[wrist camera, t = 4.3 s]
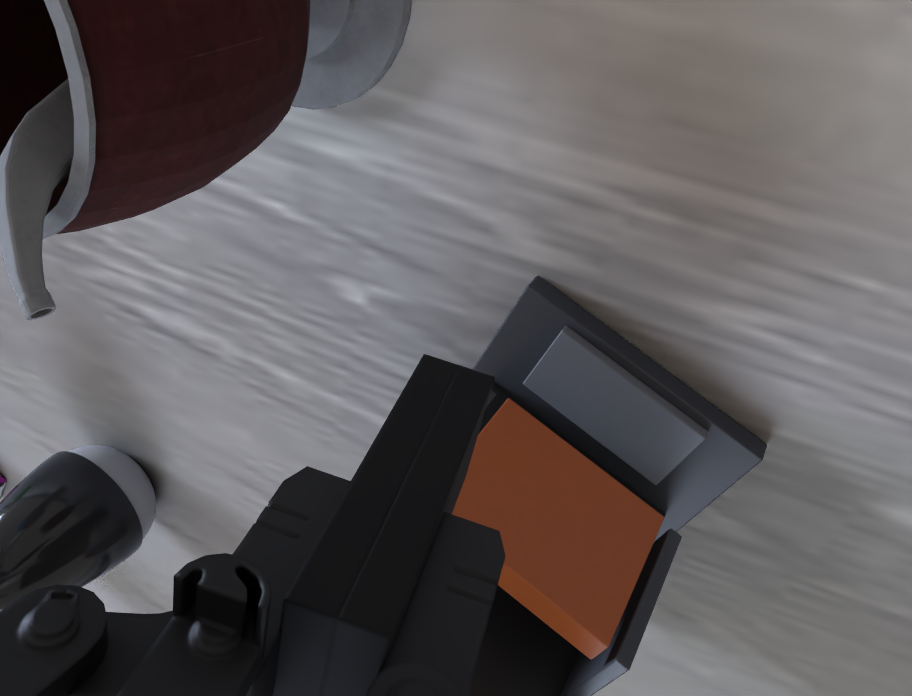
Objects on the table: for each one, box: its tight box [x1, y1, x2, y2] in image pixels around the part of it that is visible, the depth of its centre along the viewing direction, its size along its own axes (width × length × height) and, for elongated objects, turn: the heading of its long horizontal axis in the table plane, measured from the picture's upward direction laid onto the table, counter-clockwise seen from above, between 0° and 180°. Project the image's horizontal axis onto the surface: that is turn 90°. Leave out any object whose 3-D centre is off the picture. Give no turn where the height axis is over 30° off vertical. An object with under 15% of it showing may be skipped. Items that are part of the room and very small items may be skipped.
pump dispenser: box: [0, 445, 156, 611], centre depth 60 cm, size 10×10×15 cm
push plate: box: [452, 398, 664, 659], centre depth 30 cm, size 1×8×7 cm, turn 63°
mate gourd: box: [0, 0, 412, 320], centre depth 28 cm, size 16×14×20 cm
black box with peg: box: [471, 276, 767, 696], centre depth 33 cm, size 15×13×21 cm
